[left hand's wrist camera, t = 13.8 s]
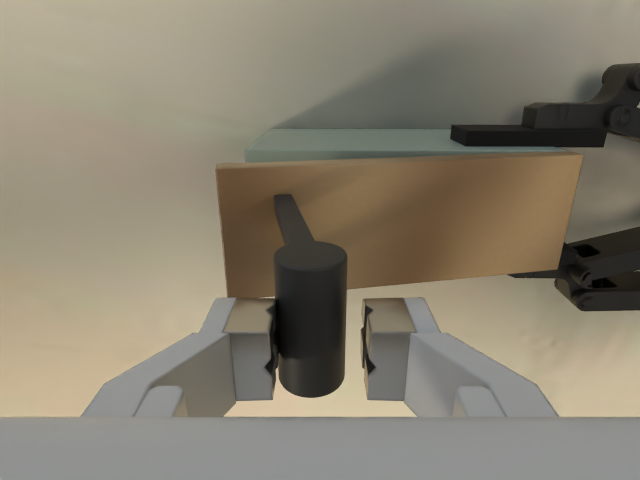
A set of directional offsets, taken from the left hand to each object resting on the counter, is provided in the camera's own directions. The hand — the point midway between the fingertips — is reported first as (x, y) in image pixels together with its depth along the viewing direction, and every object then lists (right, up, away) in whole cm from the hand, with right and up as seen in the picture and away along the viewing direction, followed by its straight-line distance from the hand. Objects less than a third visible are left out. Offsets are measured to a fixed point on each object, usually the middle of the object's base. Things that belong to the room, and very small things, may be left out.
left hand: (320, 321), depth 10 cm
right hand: (+7, +4, +11) cm, 14 cm away
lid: (+4, +3, +8) cm, 9 cm away
